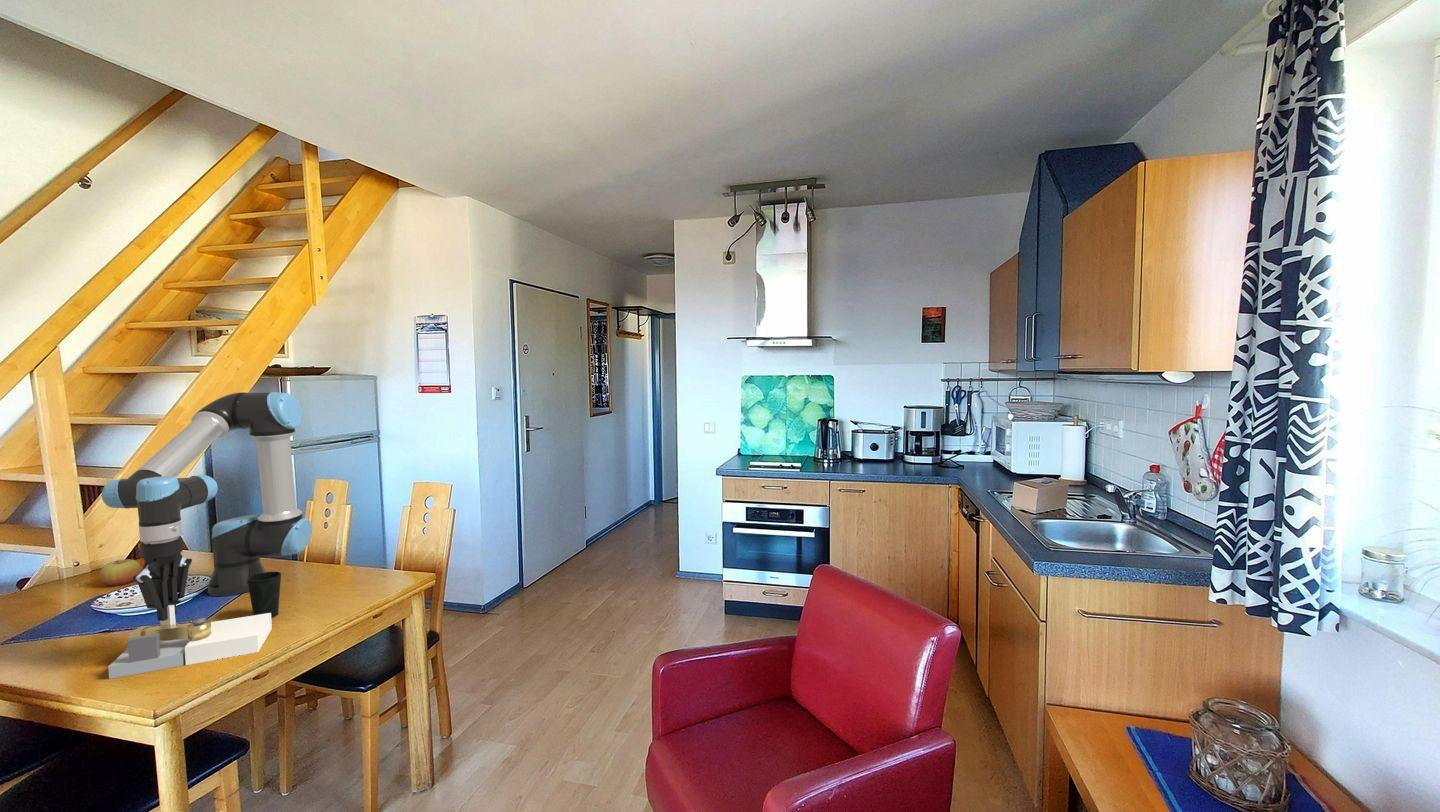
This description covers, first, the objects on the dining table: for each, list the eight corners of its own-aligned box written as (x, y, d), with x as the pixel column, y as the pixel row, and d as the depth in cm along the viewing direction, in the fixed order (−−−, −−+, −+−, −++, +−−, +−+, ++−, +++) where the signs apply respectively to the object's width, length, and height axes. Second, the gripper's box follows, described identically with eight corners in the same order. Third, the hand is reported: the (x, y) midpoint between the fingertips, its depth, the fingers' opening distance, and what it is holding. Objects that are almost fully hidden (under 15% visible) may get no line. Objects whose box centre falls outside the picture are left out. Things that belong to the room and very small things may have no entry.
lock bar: (204, 638, 142) (204, 626, 142) (128, 646, 138) (127, 634, 138) (215, 630, 146) (214, 619, 146) (141, 637, 142) (140, 626, 142)
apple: (97, 584, 190) (95, 561, 190) (138, 575, 198) (136, 553, 198) (103, 591, 185) (101, 566, 184) (145, 581, 193) (143, 558, 192)
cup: (264, 623, 162) (262, 581, 161) (242, 620, 163) (240, 579, 162) (289, 611, 169) (287, 572, 168) (268, 609, 171) (266, 570, 170)
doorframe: (137, 650, 146) (135, 616, 145) (271, 628, 158) (270, 596, 158) (109, 679, 132) (106, 641, 132) (258, 652, 145) (256, 617, 144)
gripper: (150, 548, 135) (157, 643, 137) (200, 531, 148) (206, 619, 150) (119, 547, 135) (126, 643, 137) (171, 531, 148) (178, 619, 150)
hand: (168, 630), depth 143 cm, fingers closed
